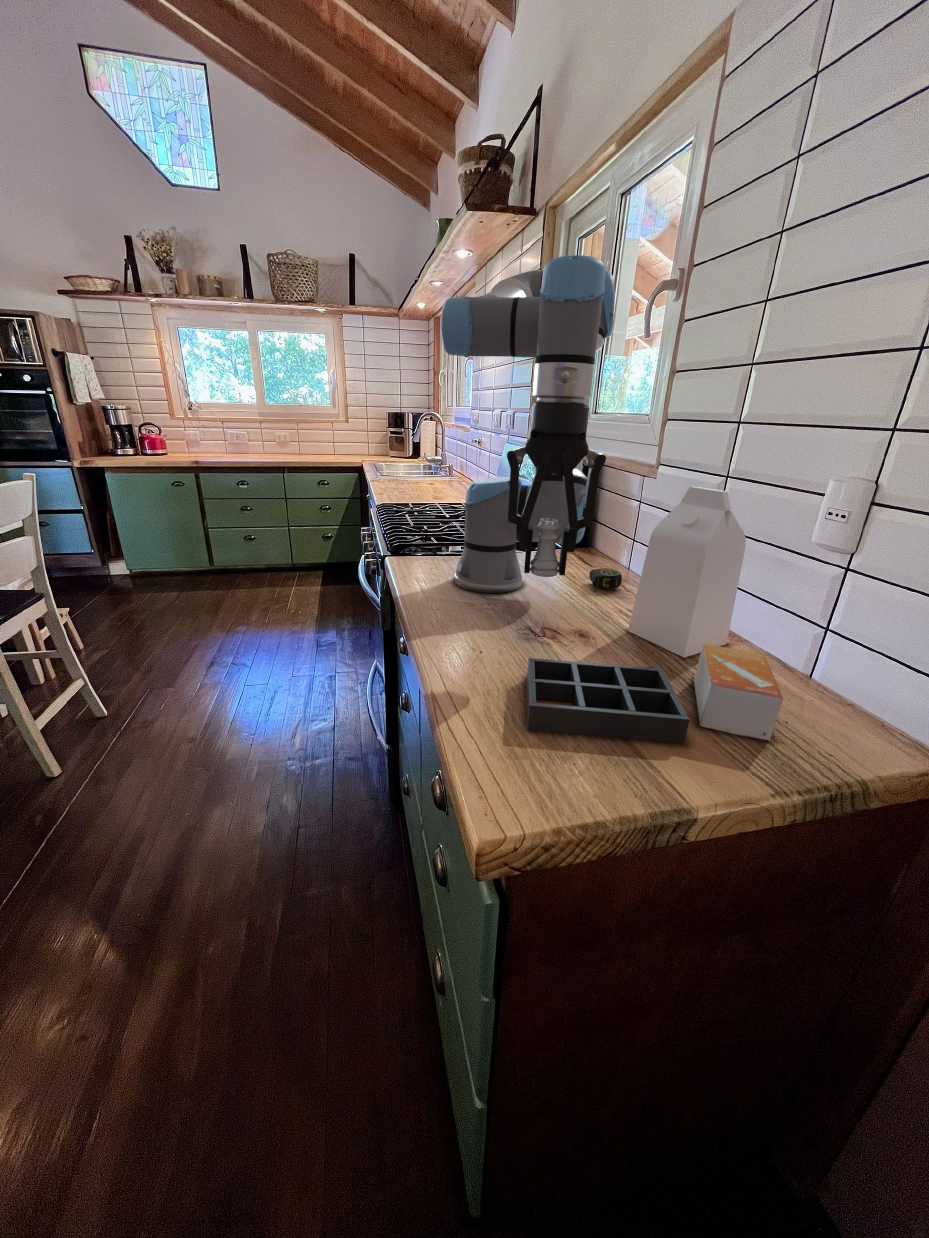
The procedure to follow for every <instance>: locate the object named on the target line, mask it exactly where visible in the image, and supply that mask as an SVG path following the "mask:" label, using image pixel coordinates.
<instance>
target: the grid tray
mask: <svg viewBox="0 0 929 1238" xmlns="http://www.w3.org/2000/svg"><path fill="white" fill-rule="evenodd" d="M527 661H528V662H527V672H526V717H527V718H526V721H527V723H526V724H527V725H526V726H527V727H526V728H527V730H528V731H540V732H550V733H561V734H571V735H572V734H573V735H583V736H594V737H605V738H615V739H625V740H637V741H648V742H659V743H670V744H678V745H679V744H680V745H684V744H685V741H686V736H687V732H688V728H689V725H690V716H689V715H688V714H687V711H686V710H685V708H684V706H683V704H682V703H681V701H680V699H679V697H678V695H677V693H676V691H675V690H674V688H673V686H672V684H671V682H670V681H669V678H668V676H667V675H666V673H665V671H664V669H663V668H660V667H659V668H658V667H647V666H633V665H622V664H611V663H610V664H609V663H597V662H586V661H573V660H572V661H571V660H559V659H547V658H533V657H528V660H527Z"/></svg>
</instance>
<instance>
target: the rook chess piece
mask: <svg viewBox="0 0 929 1238" xmlns="http://www.w3.org/2000/svg"><path fill="white" fill-rule="evenodd" d="M544 520H545V519H544V518H542V519H540V523H539V524H538V525H537V526H538V528H539V530H540V534H539V535H538V537H539V542H537V543H538V544H537V547H536V552H535V554H534V555H533V559H532V558H531V561H530V573H531V574H532V575H534V576H536V577H540V578H552V577H556V576H557V575H558V574H559V570H558V569H559V566H560V565H559V560H558V557H557V553H556V543H555V542H556V539H557V536H556V532H557V530H558V529H559V528H560V527H559V525H558V520H556V519H552V521H549V520H550V518H546V521H544Z"/></svg>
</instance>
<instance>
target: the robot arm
mask: <svg viewBox="0 0 929 1238" xmlns="http://www.w3.org/2000/svg"><path fill="white" fill-rule="evenodd" d="M615 294H616V293H615V281H614V277H613V274H612V273H611V272H610V270H607V269H606V266H605V264H604V262H603V261H602V260H601V259H599V258H597V257H594V256H590V255H583V254H582V255H580V254H579V255H577V254H576V255H562V256H558V257H554V258H552V259H550V260H549V261H547V262H546V264H545V265H544V267H543V269H534V270H529V271H525V272H521V273H518V274H515V275H512V276H509V277H506V278H503V279H502V280H500V281H498V282H497V283H496V284H494V285H493V287H492V288H491V289H490V291H489V292H488V293H485V294H483V295H479V296H467V295H463V296H459V297H449V298H447V299H446V300H445V302H444V303H443V306H442V309H441V315H440V316H441V317H440V334H441V335H440V336H441V342H442V346H443V349H444V351H445V352H446V353H447V355H449V356H455V357H456V356H457V357H464V358H469V357H504V358H505V357H510V358H535V362H534V371H533V372H534V373H533V374H534V375H533V387H532V396H533V398H534V399H536V400H535V402H533V404H532V405H531V411H530V423H529V436H528V438H527V440H526V442H525V445H523V446H521V447H518V448H515V449H509V450H508V451H507V453H506V458H507V459H506V460H507V462H508V465H509V466H508V467H509V469H510V472H509V476H499V477H498V476H497V477H490V478H489V477H488V478H482V479H478V480H473V481H471V482H470V483H469V484H467V487H466V493H465V502H464V503H463V504H464V532H463V533H464V536H463V540H464V541H463V550H462V554H461V556H460V558H459V560H458V561H457V564H456V570H455V572H454V583H455V585H457V586H458V587H460V588H462V589H464V590H468V591H472V592H477V593H485V594H500V593H508V592H509V593H510V592H512V591H516V590H518V589H519V588H520V587H521V586H522V580H523V574H522V571H521V567H520V562H519V559H518V555H517V546H518V548H519V550H525V554H524V567H523V568H524V569H523V573H524V574H530V573H531V571H530V568H531V564H530V563H531V560H532V558H531V557H532V548H533V542H536V543H539V537H538V535H539V534H540V530H539V528H538V526H537V525H538V524H539V523H540V519H542V518H544V519H545V520H544V521H546V518H550V520H549V521H552V519H556V520H558V525H559V527H560V528H559V529H558V530H557V532H556V536H557V539H556V542H555V544H556V545H560V552H559V560H558V562H559V565H560V566H559V567H558V568H557V569H558V570H559V572H558V574H559V576H566V569H567V568H566V567H567V559H568V553H574V552H575V551H576V549H577V548H576V547H577V544H578V543H580V542H581V541H582V539H583V538H584V535H585V532H586V528H590V527H591V526H592V525H593V520H594V513H595V505H596V499H597V492H598V486H599V479H600V473H601V471H602V469H603V468H604V465H605V463H606V461H607V457H606V455H605V454H603V453H602V452H596V451H595V450H591V449H590V448H589V443H588V441H587V433H588V423H589V415H590V402H591V396H592V389H593V388H592V387H593V378H594V370H595V363H596V354H597V353H598V352H599V351H600V350H601V349H602V348H603V346H604V343H605V339H608V338H610V337H612V334H613V331H614V322H615V299H616V297H615V296H616V295H615ZM525 455H527V456H528V458H529V459H530V461H531V463H532V465H533V466H534V468H535V470H534V474H533V475H532V478H531V484H530V485H529V484H528V485H527V484H523V482H522V478H521V477H520V465H523V464H524V457H525ZM584 458H586V466H587V467H588V471H587V476H586V475H585V474H584V472H583V463H584ZM517 542H518V545H517Z"/></svg>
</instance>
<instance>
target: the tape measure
mask: <svg viewBox="0 0 929 1238" xmlns="http://www.w3.org/2000/svg"><path fill="white" fill-rule="evenodd" d="M588 577H589V579H590V581H591V583H592V585H593V587H594V588H595V589H606V590H613V589H614V590H615V589H618V588H619V587H620V586H621V584H622V581H623V575H622V573H621V572H620V571H619V570H617V569H614V568H607V567H605V568H604V567H603V568H596V569H591V570H590V572H589V576H588Z"/></svg>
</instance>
